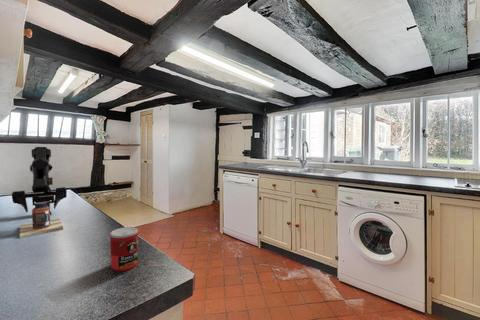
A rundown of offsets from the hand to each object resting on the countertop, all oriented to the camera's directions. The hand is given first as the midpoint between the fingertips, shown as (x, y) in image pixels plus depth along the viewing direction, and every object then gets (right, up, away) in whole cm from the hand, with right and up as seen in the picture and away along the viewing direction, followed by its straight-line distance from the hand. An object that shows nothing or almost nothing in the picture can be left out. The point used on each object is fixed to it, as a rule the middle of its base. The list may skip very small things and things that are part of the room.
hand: (41, 210), depth 99 cm
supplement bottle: (0, -8, +1) cm, 8 cm away
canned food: (+53, -11, -29) cm, 62 cm away
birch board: (-2, -9, +3) cm, 10 cm away
